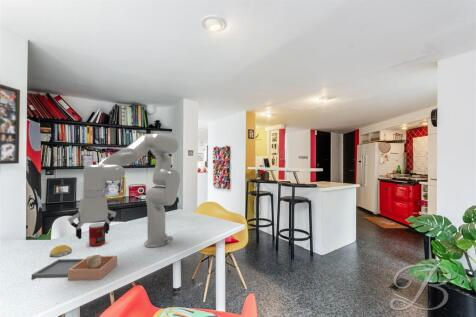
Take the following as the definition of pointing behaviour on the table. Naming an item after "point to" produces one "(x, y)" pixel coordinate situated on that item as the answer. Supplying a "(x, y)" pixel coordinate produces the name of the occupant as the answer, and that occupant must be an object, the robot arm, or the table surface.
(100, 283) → the table surface
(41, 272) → the charcoal tray
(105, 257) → the salmon square tray
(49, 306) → the table surface
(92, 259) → the beech cylinder
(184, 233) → the table surface
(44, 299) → the table surface
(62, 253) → the bread roll
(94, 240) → the canned food
